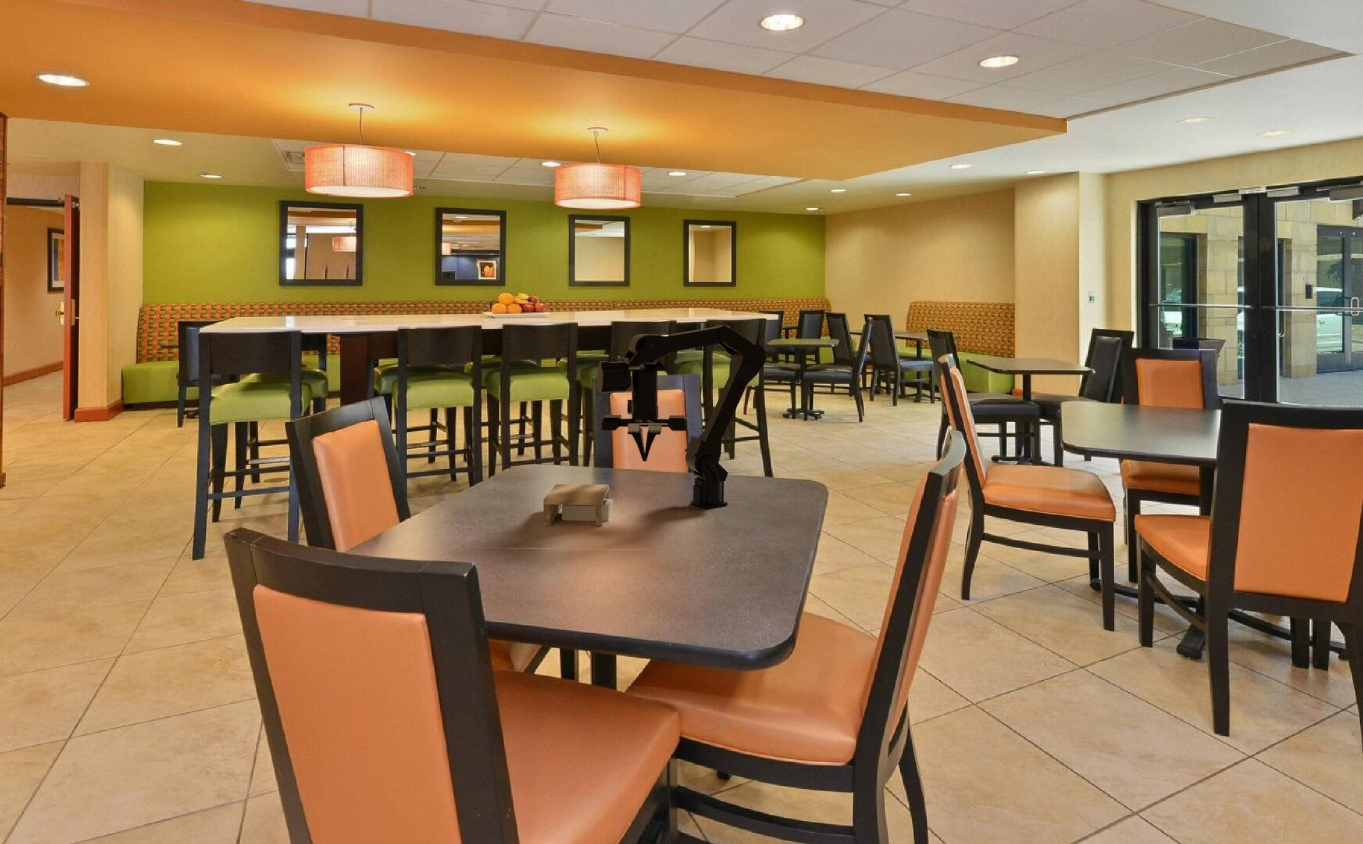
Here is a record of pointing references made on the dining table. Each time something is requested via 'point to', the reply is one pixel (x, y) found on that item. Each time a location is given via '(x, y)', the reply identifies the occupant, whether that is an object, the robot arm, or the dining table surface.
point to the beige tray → (587, 511)
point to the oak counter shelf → (574, 499)
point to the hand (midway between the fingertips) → (644, 461)
